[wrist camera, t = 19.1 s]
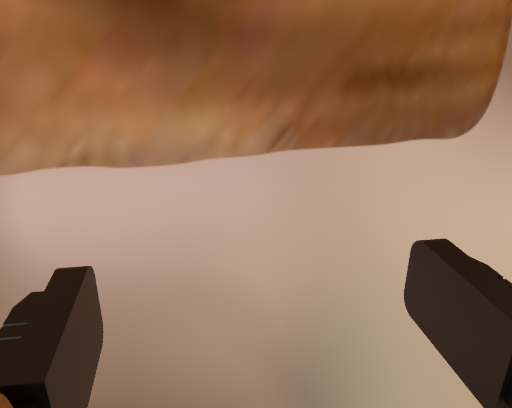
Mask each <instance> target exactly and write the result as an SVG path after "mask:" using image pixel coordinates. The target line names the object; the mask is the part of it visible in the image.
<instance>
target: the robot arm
mask: <svg viewBox="0 0 512 408" xmlns="http://www.w3.org/2000/svg"><path fill="white" fill-rule="evenodd" d="M404 301H405V306H406V309H407V311H408V313H409V315H410V316H411V318H412V319H413V320H414V321H415V323H416V324H417V325H418V326H419V328H420V329H421V330H422V331H423V333H424V334H425V335H426V336H427V338H428V339H429V340H430V341H431V343H432V344H433V345H434V346H435V348H436V349H437V350H438V351H439V353H440V354H441V355H442V356H443V358H444V359H445V360H446V361H447V363H448V364H449V365H450V366H451V367H452V369H453V370H454V371H455V372H456V374H457V375H458V376H459V378H460V379H461V380H462V381H463V383H464V384H465V385H466V386H467V387H468V389H469V390H470V391H471V392H472V394H473V395H474V396H475V397H476V399H477V400H478V401H479V402H480V404H481V405H482V406H483V407H484V408H512V283H510V282H509V281H508V280H506V279H503V277H502V276H501V275H500V274H499V273H497V272H496V271H495V270H493V269H492V268H491V267H489V266H488V265H486V264H484V263H482V262H480V261H478V260H476V259H474V258H471V257H469V256H468V255H467V254H465V253H464V252H462V250H460V249H459V248H458V247H456V246H455V245H454V244H453V243H451V242H450V241H449V240H447V239H435V240H420V241H416V242H415V243H414V244H413V245H412V248H411V252H410V258H409V265H408V271H407V277H406V283H405V289H404ZM102 343H103V322H102V315H101V309H100V304H99V298H98V291H97V286H96V279H95V274H94V270H93V268H92V267H91V266H83V267H71V268H58V269H56V270H55V271H54V274H53V275H52V277H51V279H50V281H49V283H48V285H47V287H46V289H45V291H43V292H42V291H41V292H31V293H30V294H29V295H28V296H26V298H24V299H23V300H22V301H21V302H19V303H18V304H17V305H15V306H14V307H13V308H12V310H11V312H10V314H9V315H8V317H7V319H6V320H5V322H4V323H3V327H2V328H1V329H0V408H87V407H88V403H89V399H90V394H91V390H92V386H93V382H94V378H95V374H96V369H97V365H98V361H99V357H100V353H101V349H102Z"/></svg>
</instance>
